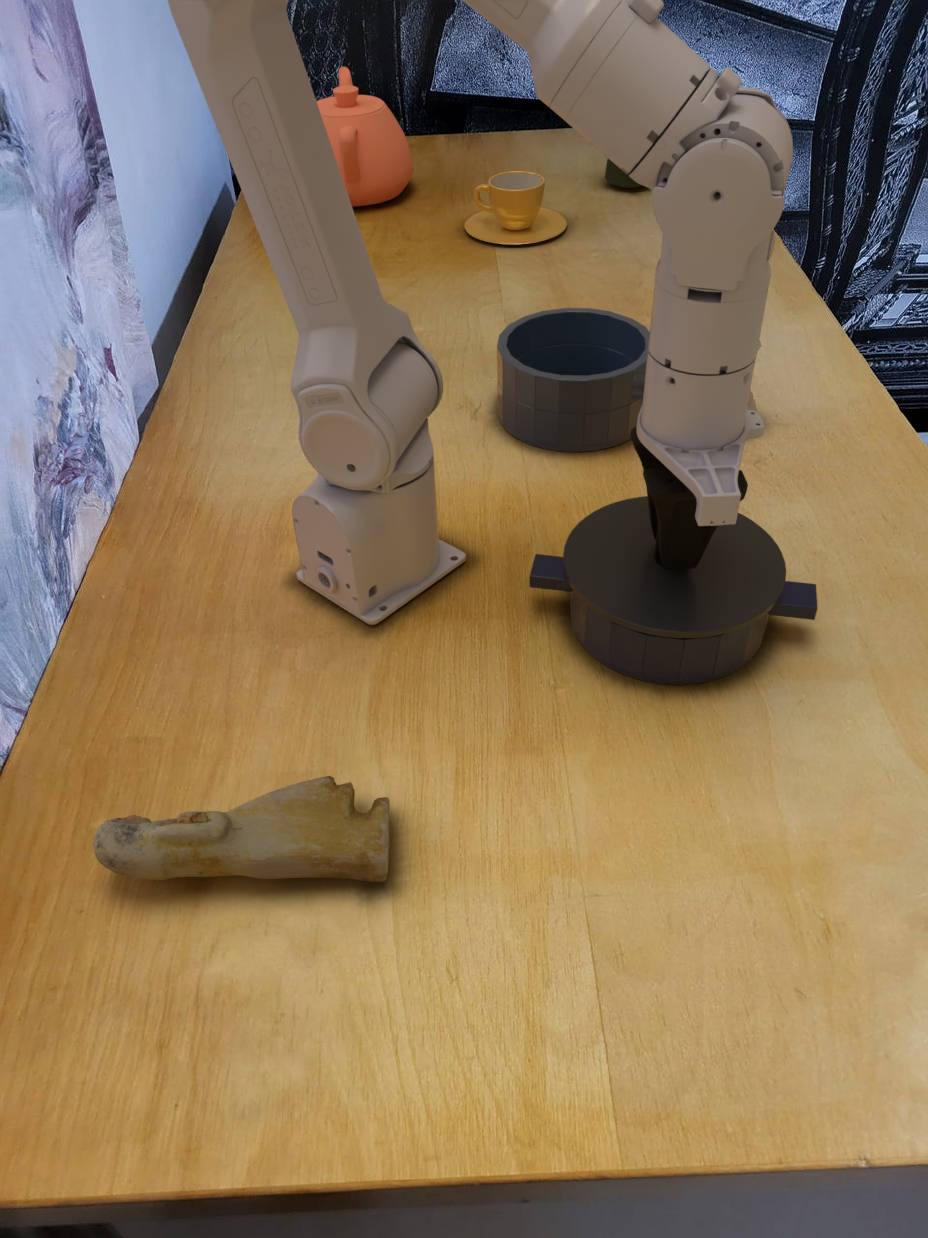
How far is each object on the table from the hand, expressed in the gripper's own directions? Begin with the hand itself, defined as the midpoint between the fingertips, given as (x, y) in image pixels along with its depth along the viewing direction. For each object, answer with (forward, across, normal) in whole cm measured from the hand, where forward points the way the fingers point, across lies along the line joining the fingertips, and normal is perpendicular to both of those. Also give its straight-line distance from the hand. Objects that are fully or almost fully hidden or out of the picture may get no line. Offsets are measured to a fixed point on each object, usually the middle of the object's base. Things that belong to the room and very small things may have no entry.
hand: (674, 550), depth 63 cm
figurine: (+6, -17, +25) cm, 31 cm away
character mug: (+6, +82, -11) cm, 83 cm away
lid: (+1, 0, 0) cm, 1 cm away
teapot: (+6, +85, +24) cm, 88 cm away
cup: (+6, +69, +4) cm, 70 cm away
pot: (+6, +27, +3) cm, 28 cm away
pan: (+6, 0, 0) cm, 6 cm away
